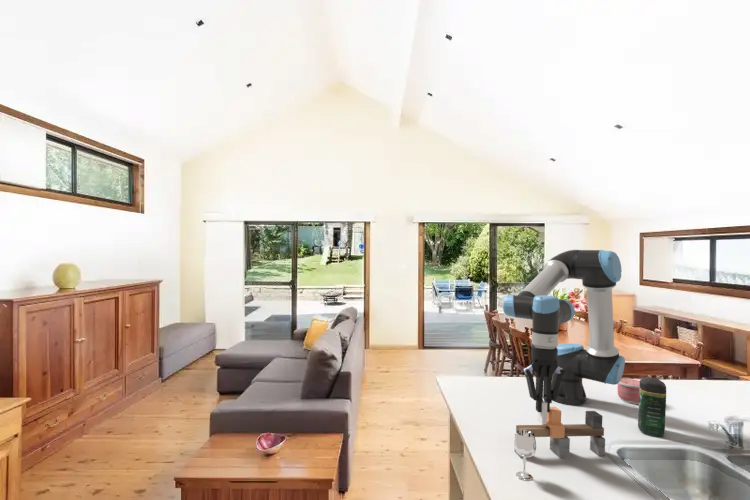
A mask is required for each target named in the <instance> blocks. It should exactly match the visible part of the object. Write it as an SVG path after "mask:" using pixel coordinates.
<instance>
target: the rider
mask: <svg viewBox="0 0 750 500" xmlns="http://www.w3.org/2000/svg"><path fill="white" fill-rule="evenodd" d="M541 425H547V426H548V427H549V428H550V437H551V438H564V435H565V426H564V424H563V423H562V410H560V409H559V408H558V407H557V406H550V411H549V412H547V424H542V423H541ZM550 437H549V438H550Z"/></svg>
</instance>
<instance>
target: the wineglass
mask: <svg viewBox="0 0 750 500" xmlns="http://www.w3.org/2000/svg"><path fill="white" fill-rule="evenodd" d="M515 434H516V436H515V435H514V440H513V442H514V443H513V447H514V451H515V450H516V452H517V453H518V454H519V455H520V456H523V458H522V463H523V471H517V472H516V473H515V477H516V478H517V479H519V480H522V481H526V482H527V481H532V480H533V477H534V476H533V475H532V474H530V473H529V472H526V463H527V458H531V457H533V456H534V455H535V454H536V451H537V441H536V437H535V436H534V433H532V432H531V431H528V430H518V431H517V432H516V431H515ZM516 452H515V453H516ZM517 453H516V454H517ZM518 454H517V455H518ZM526 457H527V458H526Z"/></svg>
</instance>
